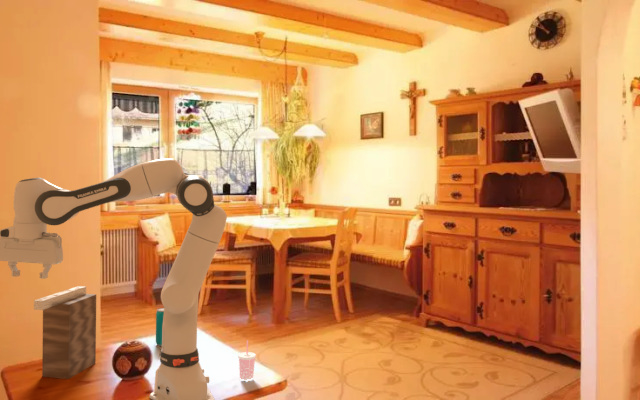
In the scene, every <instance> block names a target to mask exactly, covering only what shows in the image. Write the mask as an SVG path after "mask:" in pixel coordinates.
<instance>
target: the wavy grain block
mask: <svg viewBox="0 0 640 400" xmlns="http://www.w3.org/2000/svg"><path fill="white" fill-rule="evenodd" d="M96 345H97V294H94V293H86V295H83V296H80V297H78V298H75V299H72V300H69V301H66V302H64V303H61V304H58V305H55V306H52V307H50V308H47V309H44V310H42V359H41V361H42V369H41V370H42V372H41V373H42V374H41V375H42V377H43V378H44V377H45V378H54V379H62V380H63V379H64V380H70V379H72V378H73V377H74V376H76V375H78V374H80V373H81V372H83V371H85V370H86V369H89V368H90V367H91V366H93V365H95V364H96V361H97V360H96V357H97V356H96V352H97V351H96V350H97V349H96V348H97V346H96Z"/></svg>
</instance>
